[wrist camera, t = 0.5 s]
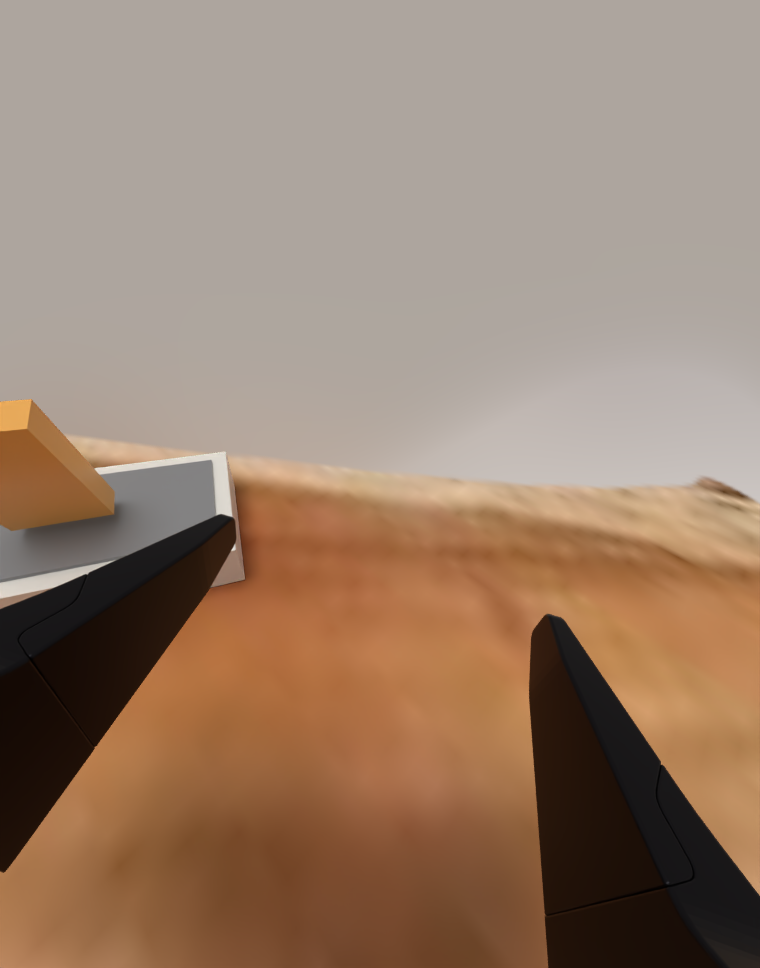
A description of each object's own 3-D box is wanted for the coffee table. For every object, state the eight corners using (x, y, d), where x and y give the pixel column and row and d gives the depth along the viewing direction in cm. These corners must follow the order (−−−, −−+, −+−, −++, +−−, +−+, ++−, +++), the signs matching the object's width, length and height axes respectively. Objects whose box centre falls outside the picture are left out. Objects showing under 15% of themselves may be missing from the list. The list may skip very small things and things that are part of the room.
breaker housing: (245, 579, 26) (234, 547, 23) (-95, 658, 20) (-171, 630, 17) (234, 485, 31) (224, 448, 28) (-37, 527, 26) (-87, 488, 23)
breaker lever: (114, 514, 22) (26, 428, 15) (11, 531, 21) (-140, 444, 14) (114, 491, 23) (31, 399, 16) (15, 506, 21) (-127, 411, 14)
